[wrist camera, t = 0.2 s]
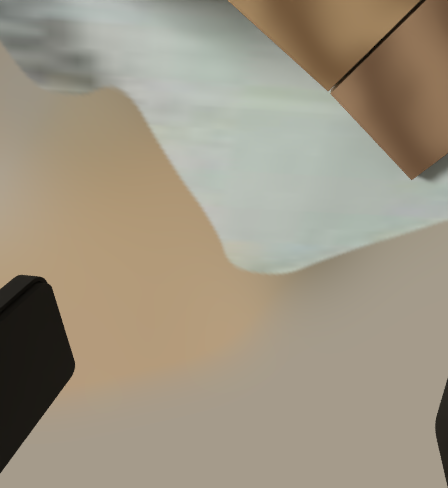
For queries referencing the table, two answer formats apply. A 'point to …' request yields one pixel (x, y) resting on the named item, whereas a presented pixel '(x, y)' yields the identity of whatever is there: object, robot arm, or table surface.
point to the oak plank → (325, 30)
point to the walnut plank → (405, 89)
